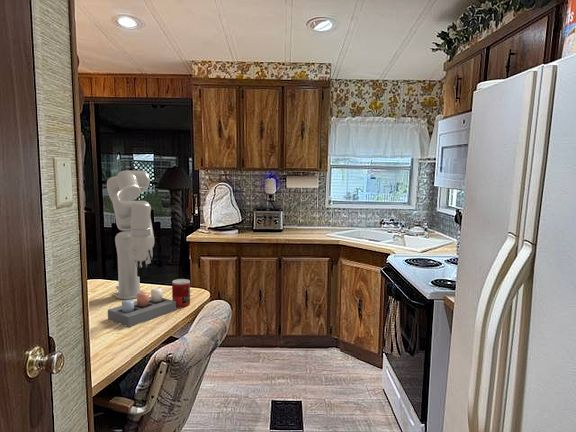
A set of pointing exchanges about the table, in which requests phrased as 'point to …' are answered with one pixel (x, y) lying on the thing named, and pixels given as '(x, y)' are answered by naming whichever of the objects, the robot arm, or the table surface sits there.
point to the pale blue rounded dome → (127, 306)
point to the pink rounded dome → (142, 299)
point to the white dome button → (156, 295)
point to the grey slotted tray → (141, 312)
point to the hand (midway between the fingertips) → (141, 276)
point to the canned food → (181, 292)
